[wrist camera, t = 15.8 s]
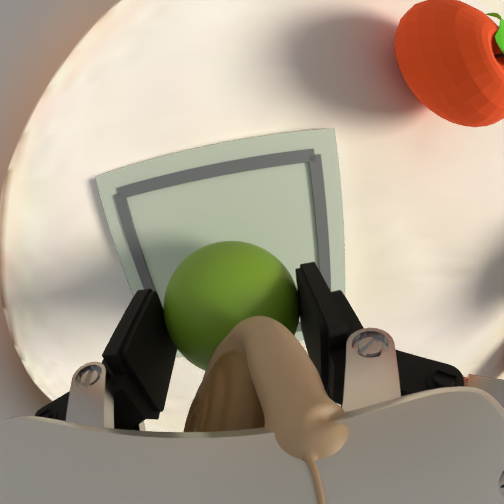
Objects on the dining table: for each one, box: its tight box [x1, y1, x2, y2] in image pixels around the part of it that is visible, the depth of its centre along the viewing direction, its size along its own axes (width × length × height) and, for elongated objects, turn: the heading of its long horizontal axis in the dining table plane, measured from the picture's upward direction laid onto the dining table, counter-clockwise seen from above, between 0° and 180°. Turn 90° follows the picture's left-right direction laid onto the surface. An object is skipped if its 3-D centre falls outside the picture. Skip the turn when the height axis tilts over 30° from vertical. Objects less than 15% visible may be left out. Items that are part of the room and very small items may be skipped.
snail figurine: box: [164, 241, 349, 504], centre depth 8 cm, size 5×6×12 cm
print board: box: [95, 128, 345, 357], centre depth 15 cm, size 12×12×1 cm
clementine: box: [395, 0, 504, 127], centre depth 8 cm, size 8×7×7 cm
